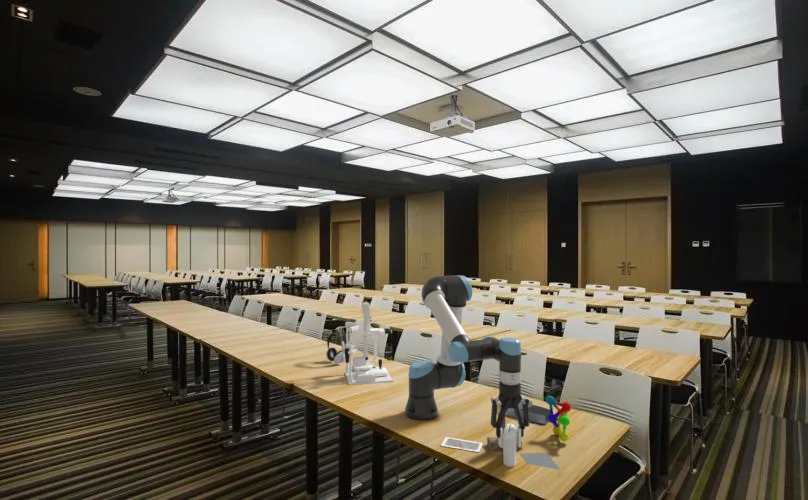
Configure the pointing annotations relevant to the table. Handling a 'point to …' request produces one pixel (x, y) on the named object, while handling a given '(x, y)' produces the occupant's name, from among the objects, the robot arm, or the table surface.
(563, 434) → the molecular model
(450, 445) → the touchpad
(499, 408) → the lever
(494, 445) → the post stand
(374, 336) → the white slit lamp
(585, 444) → the table surface
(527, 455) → the mat
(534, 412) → the external hard drive
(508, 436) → the white upright block
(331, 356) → the headphones
